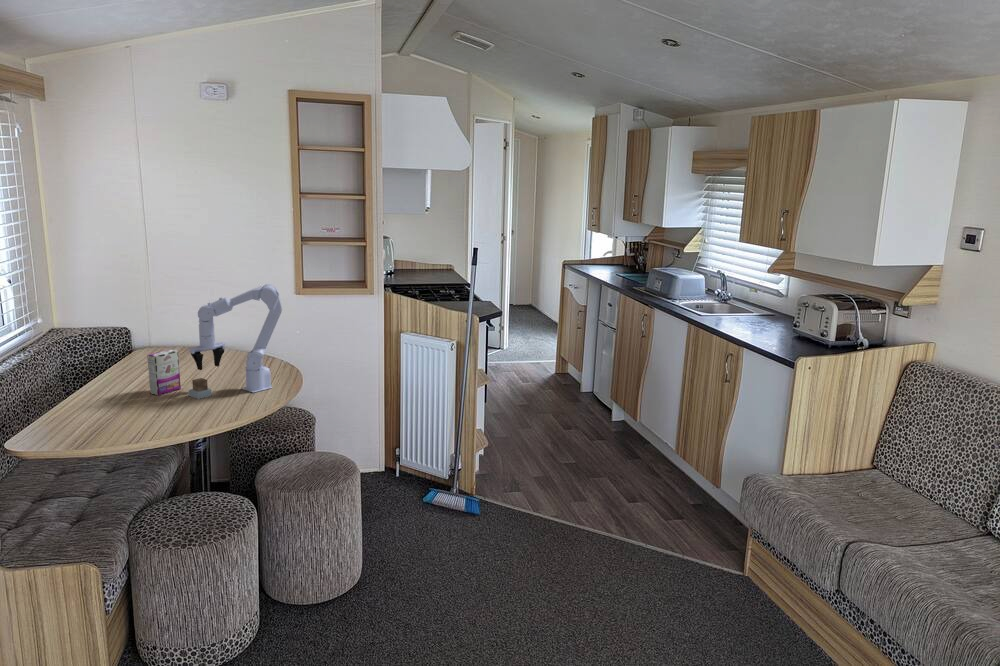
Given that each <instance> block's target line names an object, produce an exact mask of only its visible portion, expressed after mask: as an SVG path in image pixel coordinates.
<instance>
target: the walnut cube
mask: <svg viewBox="0 0 1000 666" xmlns="http://www.w3.org/2000/svg"><path fill="white" fill-rule="evenodd" d="M191 381H192V383H191V384H192V389H193V390H195V391H198V392H199V391H203V390H208V389H209V388H208V379H205V378H203V377H199V378H196V379H192V380H191Z"/></svg>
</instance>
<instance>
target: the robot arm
mask: <svg viewBox="0 0 1000 666" xmlns="http://www.w3.org/2000/svg"><path fill="white" fill-rule="evenodd" d="M252 300H254V301H262V302H263V303H264V304H265V305H266V306H267V309H268V314H267V316H266V318H265V320H264V323H263V325H262V327H261V330H260V332H259V334H258V337H257V339H256V342H255V344H254V345H253V347H252V349H251V351H249V352H248V354H247V356H246V360H245V364H246V367H245V386H244V387H241V390H243V391H247V392H250V393H257V392H262V391H266V390H271V389H272V388H273V386H272V381H271V377H272V375H271V373H272V372H271V370H270V368H269V367H268V366H264V365H263V361H264V360H263V359H264V358H263V357H264V354H265V352H266V349H267V347H268V345H269V342H270V340H271V337H272V336H273V333H274V330H275V329H276V326H277V324H278V322H279V319H280V317H281V314H282V311H283V307H282V303H281V299H280V293H279V292H278V290H277V288H276V287H275V286H274V285H272V284H269V283H268V284H264V285H263V286H257V287H254V288H252V289H249V290H247V291H245V292H242V293H241V294H238V295H236V296H233V297H231V298H228V297H222V296H221V297H219V298H218V300H215V301H213V302H210V301H209V302H207V304H204V305H202V306H200V307H199V309H198V310H197V311H198V312H197V318H198V323H199V324H198V333H199V334H198V336H199V338H198V339H199V345H197V346H194V347H190V348H189V354H190V356H192V357H191V358H193V360H194V363H195V364H196V368H197V370H199V371H202V370H203V357H204V354H203V353H204V352H207V351H212V354H213V363H214V366H215V367H220V364H221V360H222V357H223V355H224V353H225V348H226V343H224V342H216V336H215V335H216V334H215V323H214V317H219V316H222V315H224V314H226V313H228V312H231V311H232V310H233V308H234V306H237V305H240V304H243V303H245V302H248V301H252ZM202 352H203V353H202Z"/></svg>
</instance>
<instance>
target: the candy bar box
mask: <svg viewBox="0 0 1000 666" xmlns="http://www.w3.org/2000/svg"><path fill="white" fill-rule="evenodd" d="M146 355H147V367H148V369H147V371H148V379H149V381H148V382H149V392H150V393H152V394H155V395H154V396H158V395H159V396H162V395H161V394H163V395H165V394H164V393H166V394H168V392H169V393H172V392H171V391H173V392H175V390H176V391H178V389H179V390H181V389H182V388H181V374H180V373H181V372H180V362H179V361H180V360H179V351H178V350H177V349H176V350H175V349H170V348H169V349H167V350H166V349H165V350H163V351H162V350H161V351H159V352H154V353H151V354H150V353H149V354H146ZM152 394H151V395H152Z"/></svg>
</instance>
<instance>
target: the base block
mask: <svg viewBox="0 0 1000 666" xmlns="http://www.w3.org/2000/svg"><path fill="white" fill-rule="evenodd" d="M187 391H188V397H189V396H191V397H190V398H193V397H194V398H193V399H196V398H197V399H196V400H201V399H204V397H205V398H208V397H212V396H211V395H212V388H208V390H203V391H199V392H198V391H195V390H193V388H191V389H188V390H187ZM200 398H201V399H200Z"/></svg>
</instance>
